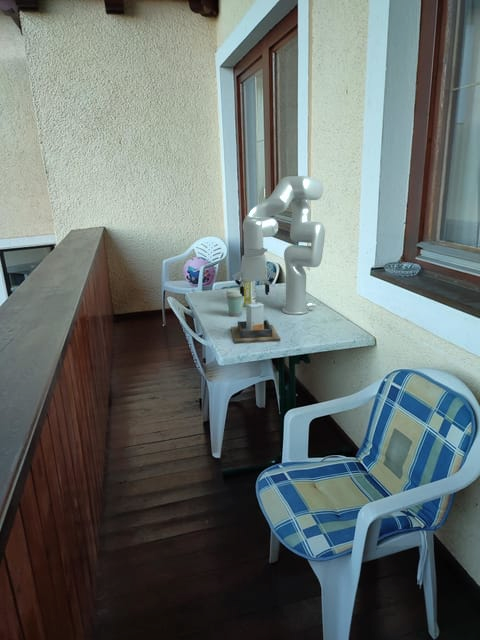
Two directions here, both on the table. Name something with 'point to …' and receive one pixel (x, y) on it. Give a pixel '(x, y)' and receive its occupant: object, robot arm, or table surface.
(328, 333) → the table surface
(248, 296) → the juice carton
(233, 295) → the coffee cup
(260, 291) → the table surface
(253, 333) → the wooden framed tray
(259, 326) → the skincare box
